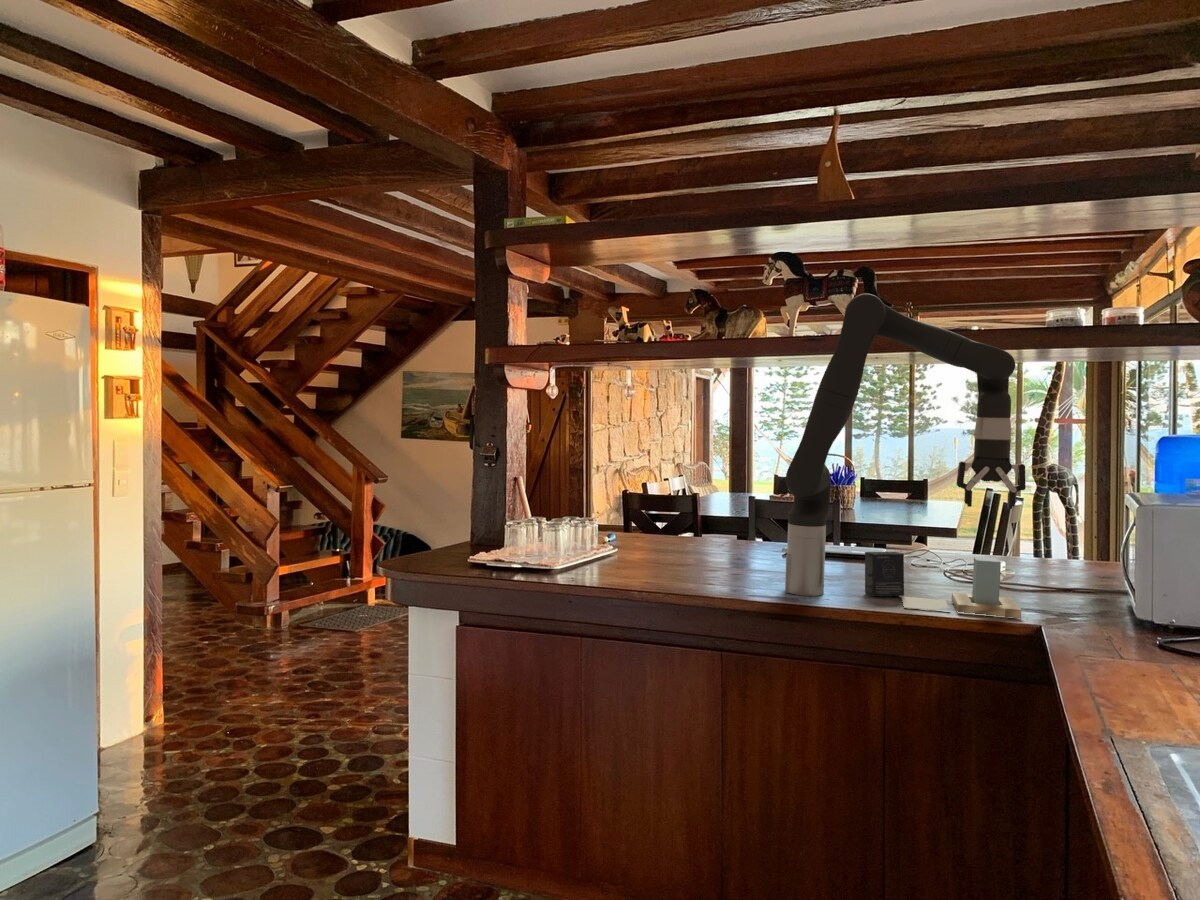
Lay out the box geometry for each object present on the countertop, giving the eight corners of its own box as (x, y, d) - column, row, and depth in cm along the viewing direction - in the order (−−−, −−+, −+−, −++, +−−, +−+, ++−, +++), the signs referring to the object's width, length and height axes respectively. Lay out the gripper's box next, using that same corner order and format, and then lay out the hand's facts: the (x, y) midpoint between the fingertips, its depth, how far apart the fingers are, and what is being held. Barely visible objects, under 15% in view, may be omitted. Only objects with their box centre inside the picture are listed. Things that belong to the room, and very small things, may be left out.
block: (974, 611, 190) (976, 560, 190) (971, 607, 195) (974, 556, 194) (998, 613, 189) (1000, 562, 188) (994, 609, 194) (997, 558, 193)
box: (894, 593, 208) (894, 551, 209) (904, 596, 203) (904, 553, 203) (864, 593, 208) (864, 551, 208) (873, 596, 202) (873, 553, 202)
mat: (903, 608, 192) (903, 607, 192) (901, 598, 203) (901, 596, 203) (950, 612, 189) (950, 611, 189) (945, 601, 200) (945, 600, 200)
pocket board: (957, 614, 188) (958, 604, 188) (951, 601, 200) (952, 592, 200) (1020, 619, 184) (1021, 609, 184) (1010, 606, 196) (1011, 597, 196)
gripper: (961, 437, 189) (957, 507, 189) (1030, 439, 184) (1026, 511, 185) (957, 436, 196) (954, 504, 197) (1023, 438, 192) (1020, 507, 192)
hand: (989, 507), depth 191 cm, fingers open, 8 cm apart
